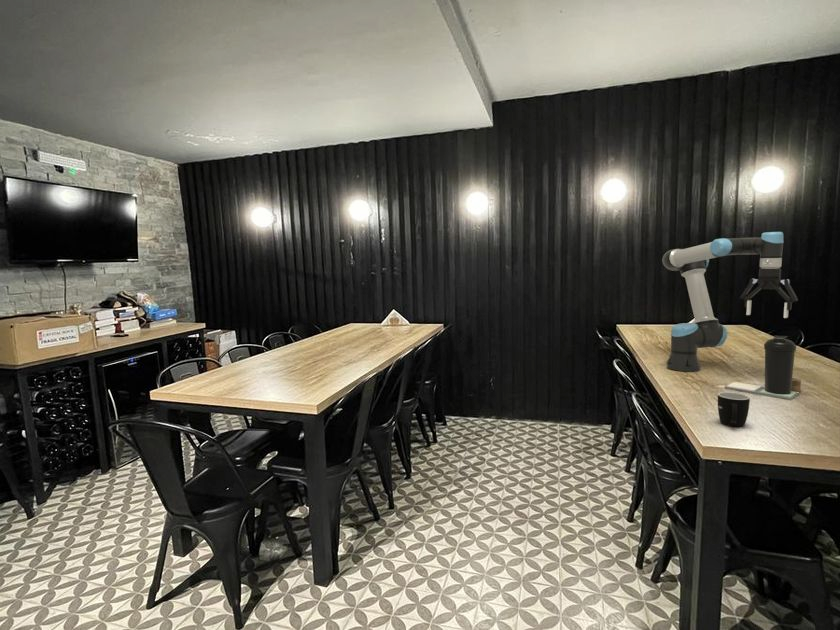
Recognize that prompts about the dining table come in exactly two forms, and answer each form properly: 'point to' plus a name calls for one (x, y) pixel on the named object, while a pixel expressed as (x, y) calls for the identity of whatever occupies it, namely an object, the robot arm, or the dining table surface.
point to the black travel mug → (779, 365)
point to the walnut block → (796, 385)
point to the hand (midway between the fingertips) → (766, 316)
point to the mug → (733, 408)
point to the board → (758, 390)
